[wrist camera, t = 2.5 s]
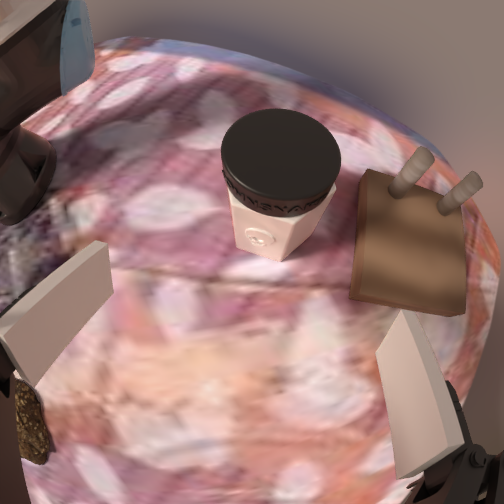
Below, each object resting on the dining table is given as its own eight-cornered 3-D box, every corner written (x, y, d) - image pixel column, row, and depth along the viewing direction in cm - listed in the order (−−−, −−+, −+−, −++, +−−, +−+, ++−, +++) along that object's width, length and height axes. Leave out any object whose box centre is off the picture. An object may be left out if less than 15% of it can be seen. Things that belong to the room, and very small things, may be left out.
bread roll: (-10, 377, 21) (-32, 376, 16) (34, 376, 22) (8, 377, 17) (14, 455, 17) (-7, 461, 13) (65, 468, 18) (43, 479, 14)
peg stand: (449, 316, 25) (509, 302, 15) (348, 298, 26) (398, 275, 16) (447, 212, 29) (492, 175, 20) (358, 182, 30) (392, 127, 20)
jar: (215, 243, 27) (193, 177, 16) (242, 178, 30) (240, 97, 18) (300, 271, 27) (336, 221, 15) (319, 203, 29) (354, 129, 18)
